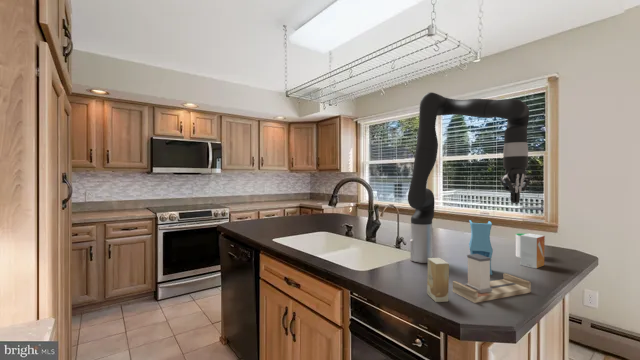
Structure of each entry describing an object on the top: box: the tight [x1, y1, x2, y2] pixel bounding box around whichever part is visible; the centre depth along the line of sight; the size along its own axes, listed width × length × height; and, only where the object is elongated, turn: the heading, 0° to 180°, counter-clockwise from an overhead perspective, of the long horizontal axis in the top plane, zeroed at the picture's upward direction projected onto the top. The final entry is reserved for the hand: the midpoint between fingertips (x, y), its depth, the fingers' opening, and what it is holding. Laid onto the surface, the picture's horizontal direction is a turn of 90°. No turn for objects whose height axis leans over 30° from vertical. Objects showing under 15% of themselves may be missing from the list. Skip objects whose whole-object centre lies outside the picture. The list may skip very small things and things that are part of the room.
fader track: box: [452, 272, 532, 304], centre depth 97 cm, size 24×9×4 cm, turn 108°
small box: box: [519, 232, 546, 269], centre depth 125 cm, size 8×6×13 cm
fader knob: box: [464, 254, 492, 293], centre depth 95 cm, size 5×6×11 cm
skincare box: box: [426, 257, 450, 303], centre depth 93 cm, size 6×4×12 cm
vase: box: [468, 219, 494, 276], centre depth 118 cm, size 8×8×20 cm
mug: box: [515, 233, 525, 258], centre depth 138 cm, size 12×8×10 cm, turn 100°
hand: (515, 202), depth 106 cm, fingers closed
